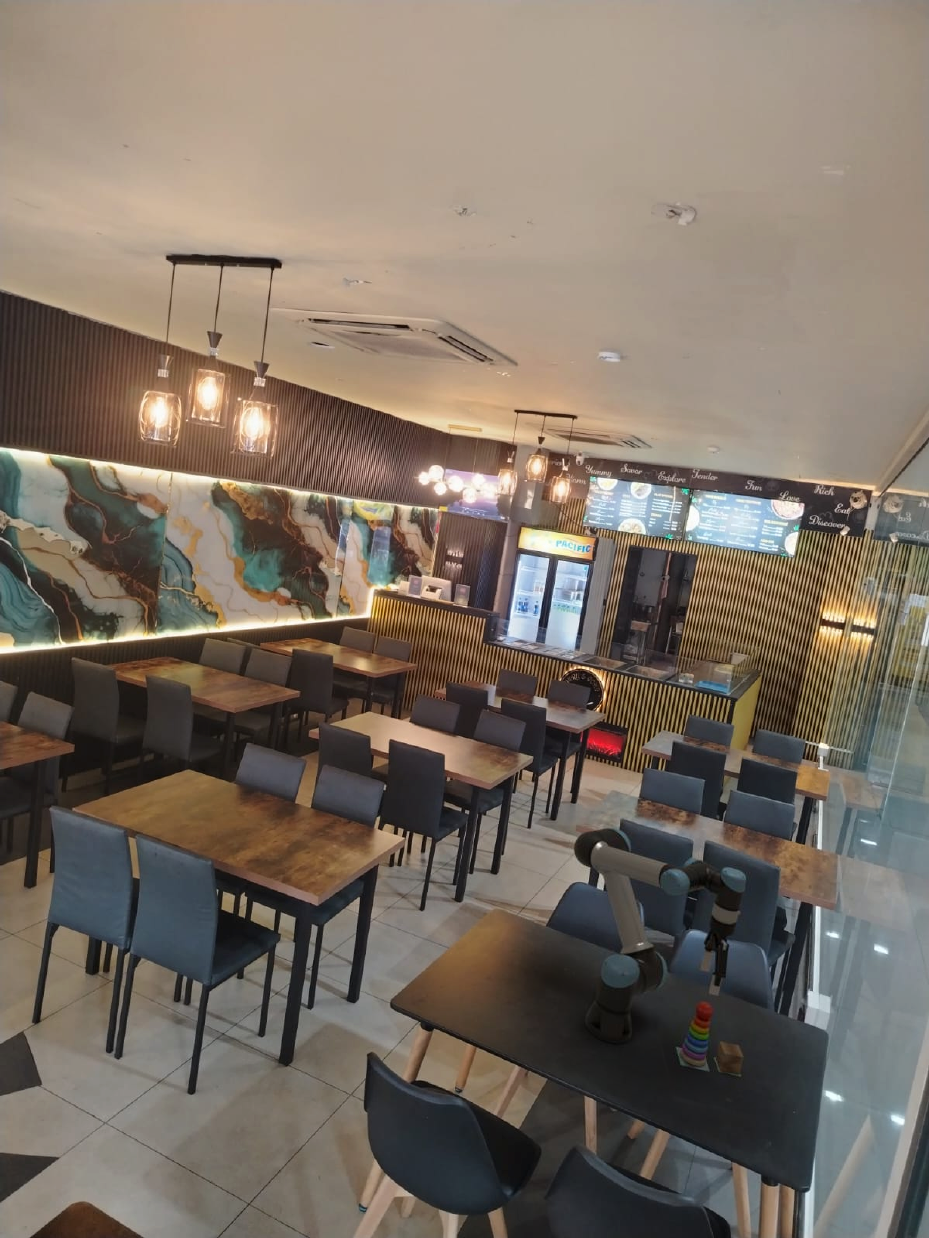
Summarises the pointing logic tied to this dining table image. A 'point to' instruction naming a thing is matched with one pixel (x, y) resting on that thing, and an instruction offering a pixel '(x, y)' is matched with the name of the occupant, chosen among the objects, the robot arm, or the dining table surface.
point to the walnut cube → (729, 1058)
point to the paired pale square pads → (703, 1067)
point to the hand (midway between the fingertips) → (708, 981)
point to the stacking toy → (697, 1036)
